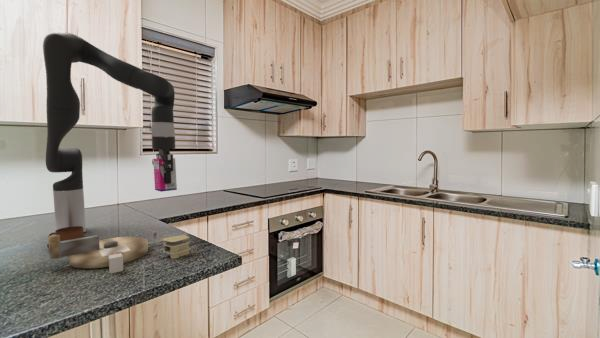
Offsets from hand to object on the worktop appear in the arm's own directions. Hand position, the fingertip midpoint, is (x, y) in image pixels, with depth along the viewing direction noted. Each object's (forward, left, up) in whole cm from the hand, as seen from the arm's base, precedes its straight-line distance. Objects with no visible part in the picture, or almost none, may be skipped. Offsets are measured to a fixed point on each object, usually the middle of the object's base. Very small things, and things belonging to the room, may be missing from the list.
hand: (165, 182), depth 106 cm
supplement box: (0, 0, -3) cm, 3 cm away
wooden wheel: (+8, -20, -20) cm, 30 cm away
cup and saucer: (-11, -28, -21) cm, 37 cm away
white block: (+22, -18, -20) cm, 35 cm away
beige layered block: (+20, -2, -21) cm, 29 cm away
